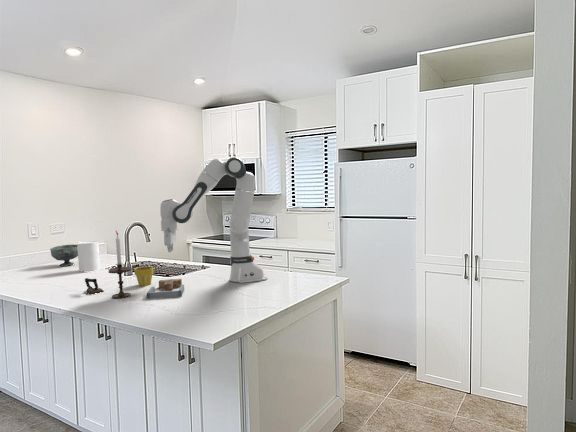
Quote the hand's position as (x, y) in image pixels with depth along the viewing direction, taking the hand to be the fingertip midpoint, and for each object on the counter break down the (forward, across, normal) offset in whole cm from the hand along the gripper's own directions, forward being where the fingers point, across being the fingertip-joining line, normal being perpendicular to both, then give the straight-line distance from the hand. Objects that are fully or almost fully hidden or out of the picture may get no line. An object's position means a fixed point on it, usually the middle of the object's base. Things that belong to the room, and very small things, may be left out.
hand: (170, 251), depth 239 cm
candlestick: (+19, -22, +23) cm, 37 cm away
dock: (+19, -24, 0) cm, 31 cm away
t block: (+19, -12, 0) cm, 23 cm away
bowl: (+19, +90, +90) cm, 129 cm away
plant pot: (+19, +3, +16) cm, 25 cm away
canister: (+19, +63, +65) cm, 93 cm away
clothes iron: (+20, -7, +42) cm, 47 cm away
